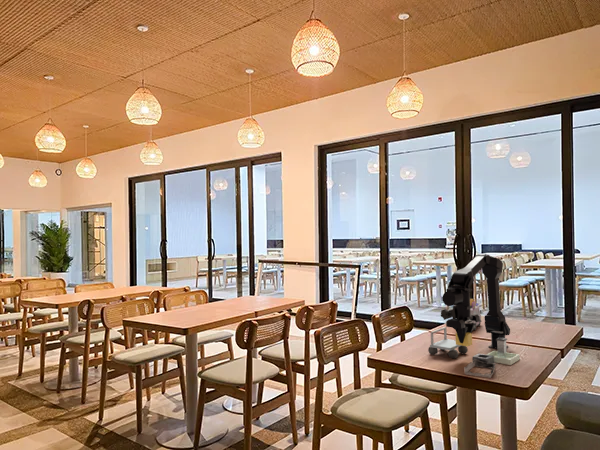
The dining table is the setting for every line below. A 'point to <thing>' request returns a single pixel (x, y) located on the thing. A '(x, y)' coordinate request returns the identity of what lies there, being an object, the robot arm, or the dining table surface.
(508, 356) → the tray
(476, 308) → the toy vehicle
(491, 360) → the pin bracket
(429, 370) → the dining table surface
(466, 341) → the yellow block
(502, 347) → the stop pin
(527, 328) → the dining table surface
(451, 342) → the trolley
